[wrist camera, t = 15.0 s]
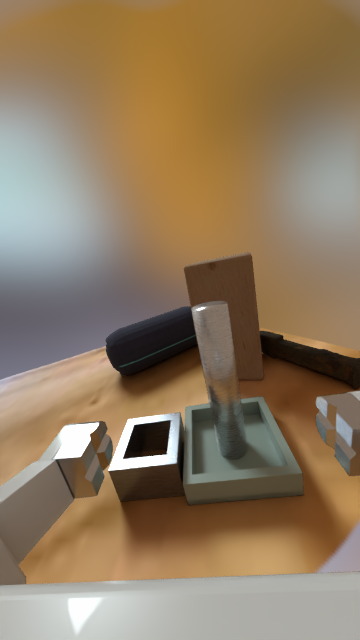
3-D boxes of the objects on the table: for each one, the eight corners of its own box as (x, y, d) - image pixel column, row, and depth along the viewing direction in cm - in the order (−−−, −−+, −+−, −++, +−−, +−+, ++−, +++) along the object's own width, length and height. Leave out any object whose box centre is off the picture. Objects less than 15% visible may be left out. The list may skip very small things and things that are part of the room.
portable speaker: (193, 334, 61) (187, 301, 58) (217, 341, 52) (211, 303, 50) (108, 371, 48) (95, 331, 46) (122, 388, 40) (107, 341, 38)
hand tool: (373, 382, 29) (374, 351, 28) (356, 394, 28) (357, 362, 26) (265, 345, 46) (263, 325, 45) (252, 351, 45) (249, 331, 43)
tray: (188, 505, 19) (182, 484, 18) (189, 421, 28) (185, 406, 28) (303, 495, 18) (302, 473, 17) (264, 412, 27) (262, 396, 27)
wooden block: (264, 380, 34) (251, 253, 28) (204, 381, 37) (182, 266, 32) (260, 352, 43) (250, 251, 37) (212, 354, 46) (196, 262, 41)
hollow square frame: (120, 501, 20) (108, 470, 19) (136, 445, 26) (128, 419, 25) (185, 495, 20) (176, 463, 19) (186, 439, 26) (180, 412, 25)
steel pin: (219, 461, 22) (191, 313, 17) (216, 436, 25) (191, 305, 20) (251, 458, 21) (230, 306, 17) (243, 432, 24) (224, 299, 20)
